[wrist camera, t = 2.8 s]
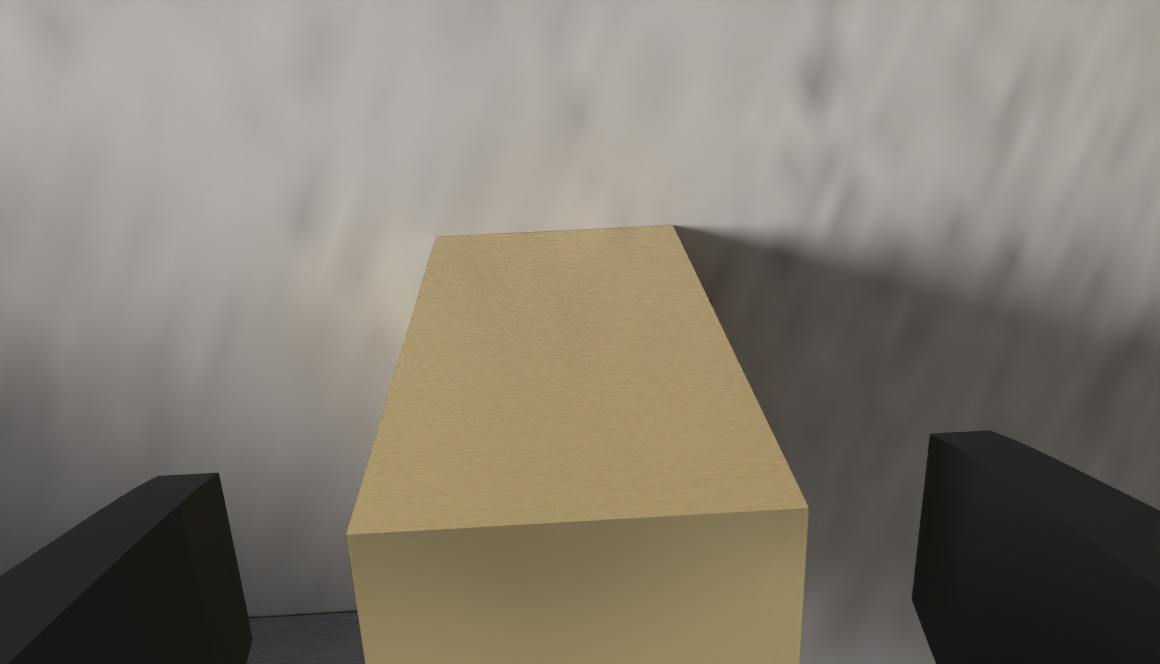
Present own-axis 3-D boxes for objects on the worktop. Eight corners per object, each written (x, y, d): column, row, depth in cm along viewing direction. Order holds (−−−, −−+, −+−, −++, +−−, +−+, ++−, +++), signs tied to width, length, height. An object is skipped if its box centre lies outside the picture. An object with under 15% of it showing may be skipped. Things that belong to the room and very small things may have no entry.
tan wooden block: (460, 493, 15) (406, 937, 8) (435, 236, 13) (346, 535, 7) (673, 481, 15) (783, 910, 8) (673, 225, 13) (808, 507, 7)
